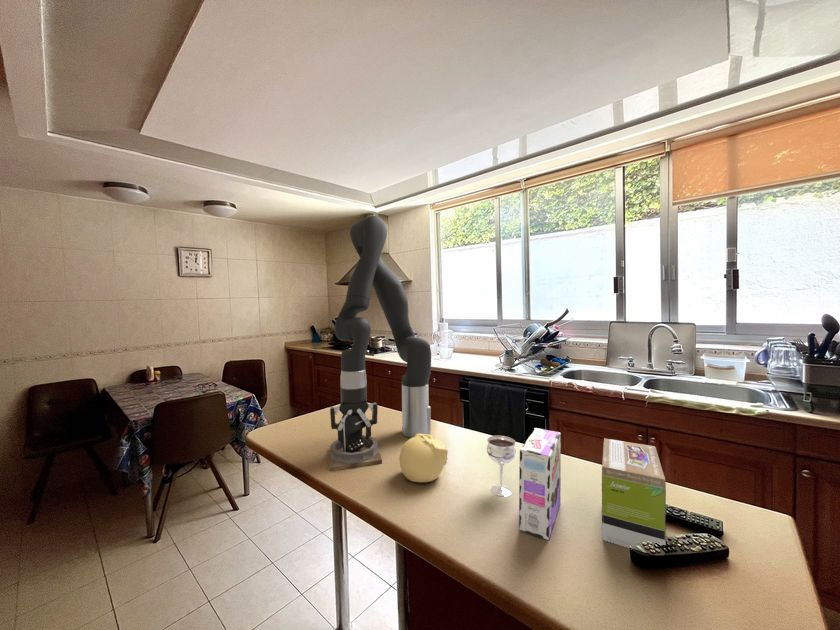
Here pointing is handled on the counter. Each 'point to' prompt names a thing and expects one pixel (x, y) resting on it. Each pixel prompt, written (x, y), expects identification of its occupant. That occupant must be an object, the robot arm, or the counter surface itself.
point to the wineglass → (501, 459)
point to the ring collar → (354, 455)
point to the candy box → (540, 482)
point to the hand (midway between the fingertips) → (354, 439)
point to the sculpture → (423, 458)
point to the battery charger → (353, 433)
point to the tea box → (632, 494)
